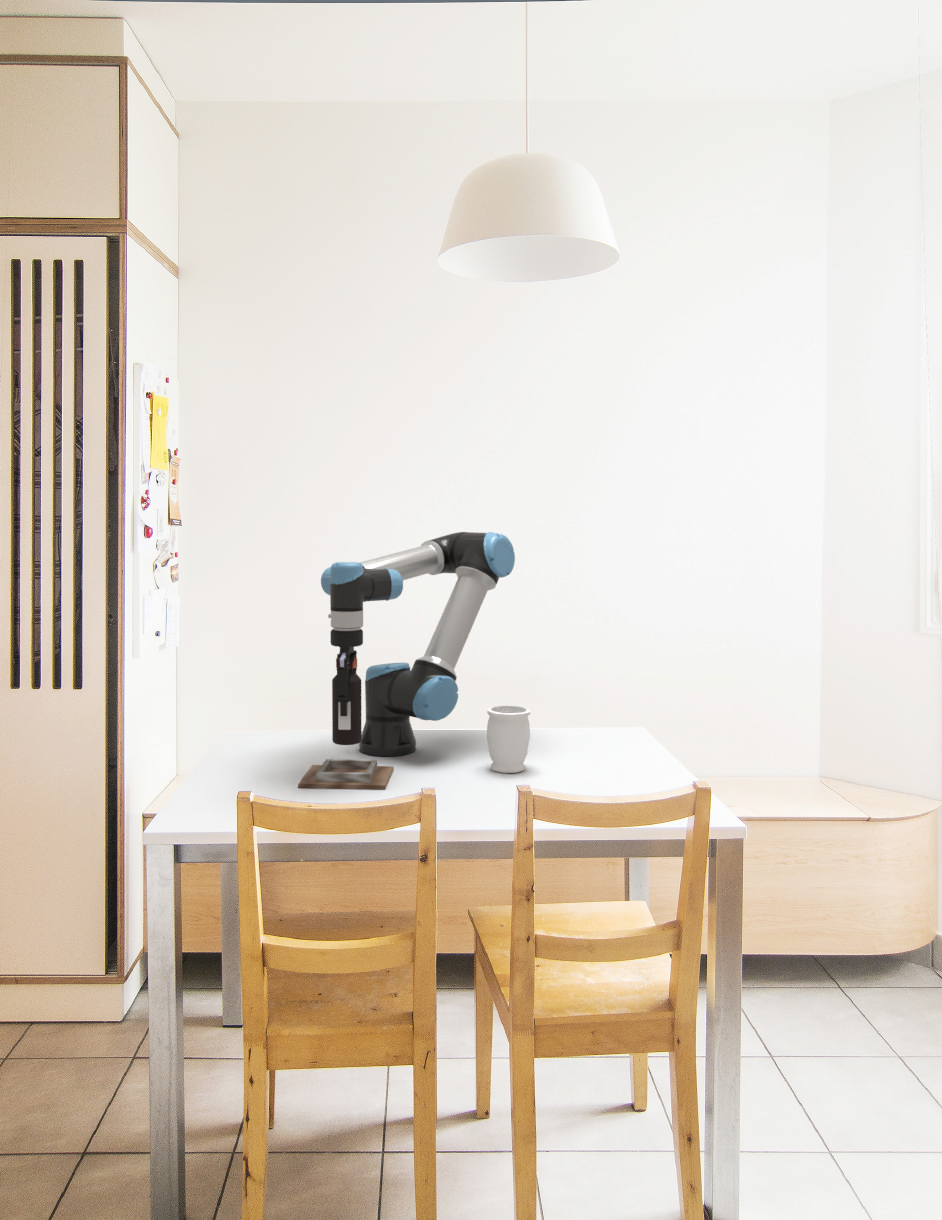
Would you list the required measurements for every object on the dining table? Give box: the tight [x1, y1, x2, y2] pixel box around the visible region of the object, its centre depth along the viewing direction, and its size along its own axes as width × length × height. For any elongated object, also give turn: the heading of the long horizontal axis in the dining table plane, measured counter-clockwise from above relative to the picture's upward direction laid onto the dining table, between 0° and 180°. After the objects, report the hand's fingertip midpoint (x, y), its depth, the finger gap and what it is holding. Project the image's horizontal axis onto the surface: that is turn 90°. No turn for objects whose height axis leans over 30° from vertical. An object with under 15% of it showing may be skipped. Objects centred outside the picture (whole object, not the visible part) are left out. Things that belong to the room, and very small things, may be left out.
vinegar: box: [331, 657, 362, 746], centre depth 217 cm, size 7×7×20 cm
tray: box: [297, 758, 395, 791], centre depth 218 cm, size 20×16×3 cm
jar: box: [486, 705, 531, 774], centre depth 227 cm, size 11×10×15 cm
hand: (347, 725), depth 217 cm, fingers closed on vinegar, 6 cm apart
